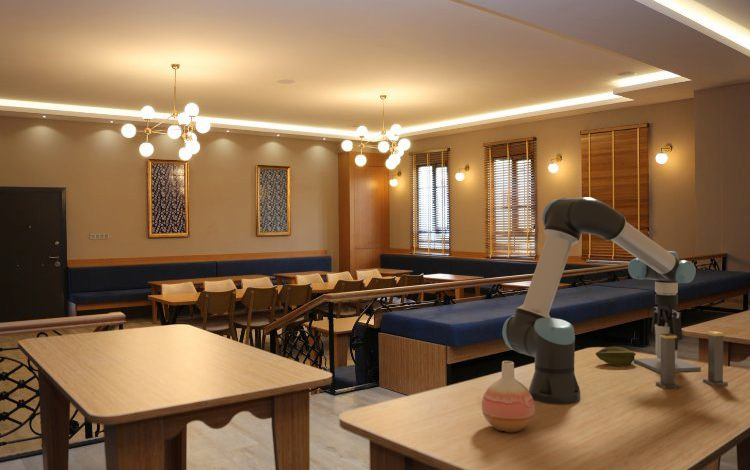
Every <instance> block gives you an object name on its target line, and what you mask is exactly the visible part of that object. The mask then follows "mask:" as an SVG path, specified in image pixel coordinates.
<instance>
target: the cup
mask: <svg viewBox="0 0 750 470" xmlns="http://www.w3.org/2000/svg"><path fill="white" fill-rule="evenodd" d="M654 330H655V335H656V344H655V349H656V348H657V354H656V358H659V359H661V337H660V336H659V334H667V333H669V330H670V327H668V325H667V323H666V322H665V325H664V327H663V326H658V324H655V329H654ZM655 335H654V336H655Z"/></svg>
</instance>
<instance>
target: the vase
mask: <svg viewBox="0 0 750 470" xmlns="http://www.w3.org/2000/svg"><path fill="white" fill-rule="evenodd" d="M481 412H482V415H483V418H484V419H485V420H486V422H488V424H490V425H491V426H492V427H493V428H494V429H495V430H497V431H499V430H500V431H499V432H502V431H505V432H504V433H518V432H520V430H521V431H522V430H523V429H524V428H525V427H527V426H529V425H530V423H531V422H532V421H533V419H534V417H535V412H536V406H535V400H534V399H533V397H532V395H531V393H530V392H529V388H527V387H526V386H525V385H524V384H523V383H522V382H520V381H519V380H517V379H516V377H515V362H513V361H512V360H503V361H502V362H501V378H499V379H497V380H495V381H494V382H492V383H491V385H490V386H489V387H487V388H486V390H485V392H484V393H483V396H482V398H481ZM517 431H518V432H517Z"/></svg>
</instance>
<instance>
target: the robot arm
mask: <svg viewBox="0 0 750 470" xmlns="http://www.w3.org/2000/svg"><path fill="white" fill-rule="evenodd" d="M542 221H543V223H542V224H543V226H544V230H543V233H544V235H545V241H544V244H543V246H542V249H541V253H540V254H539V258H538V260H537V264H536V267H535V270H534V272H533V275H532V277H531V281H530V283H529V286H528V290H527V293H526V296H525V299H524V301H523V304H521V305H520V306H518V307H516V310H515V313H514V315H511V316H510V317H508V318H507V319H506V320H505V321H504V323H503V327H502V332H501V333H502V338H503V340H504V343H505V344H506V346H507V347H508V348H509V349H511V350H513V351H515V352H516V353H518V354H521V355H522V354H523V355H526V356H530V357H532V358H534V372H533V376H532V379H531V382H530V385H529V388H528V390H529V392H530V393H531V395H532V397H533V400H534V401H538V402H539V403H546V404H551V405H552V404H555V405H569V404H575V403H577V402H579V401H580V400H581V389H580V386H579V383H578V380H577V377H576V373H575V358H576V357H575V349H576V346H575V345H576V344H575V343H576V336H575V329H574V325H572V323H570V322H568V321H567V320H564V319H562V318H561V319H560V318H555V317H551V316H550V311H551V309H552V305H553V302H554V300H555V296H556V293H557V291H558V288H559V285H560V283H561V282H560V281H561V279H562V276H563V273H564V270H565V267H566V264H567V261H568V258H569V256H570V253H571V250H572V247H573V246H574V245H576V244H578V243H579V241H580V238H581V236H582V234H588V235H594V236H597V237H600V238H601V239H603V240H604V241H608V242H609V241H611V242H613V243H614V244H615V245H617V246H619V247H620V248H621V249H623V250H624V251H626V252H628V253H629V254H631V256H633V257H635V258H633V259H631V260H630V261H629V263H628V265H627V271H628V274H629V276H630V277H631V278H632V279H633V280H634V279H635V280H642V281H643V280H651V281H652V280H654V292H655V293H656V294H654V303H655V305H657V306H654V307H652V309H651V310H652V319H651V328H650V329H651V333H652V334H653V336H654V337H655V340H654V343H655V345H656V335H655V324H658V326H663V327H664V325H665V323H667V325H668V327H670V330H669V333H670V334H673V335H677V338H675V359H678V348H679V347H678V346H679V342H680V341H682V340H683V332H682V321H681V320H682V319H681V318H682V312H681V311H677V310H676V306H677V305H678V304H679V303H678V302H679V295H678V293H679V292H678V291H679V288H678V286H679V284H689V283H691V282H692V281H693V280H694V279H695V276H696V270H697V269H696V266H695V264H694V263H693V262H692V261H689V260H686V259H679V254H678V253H677V252H676V251H674V250H673V251H672V250H666V248H664V247H662V246H660V244H658V243H657V242H655V241H654V240H652V239H651V238H650V237H648V236H647V235H646V234H644V233H643V232H642V231H640V230H639V229H638V228H636V227H635V226H633V225H631V224H630V223H629V222H627V220H626V217H625V216H624V214H623V213H620V212H619V211H618V210H616V209H615V208H613V207H611V206H610V205H608V204H606V203H605V202H603V201H601V200H599V199H596V198H594V197H585V196H583V197H561V198H557V199H553V200H552V201H550V202H549V203H548V204H547V205H546V206H545V207H544V209H543V212H542ZM654 353H655V355H657V348H656V347H655V352H654Z"/></svg>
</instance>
